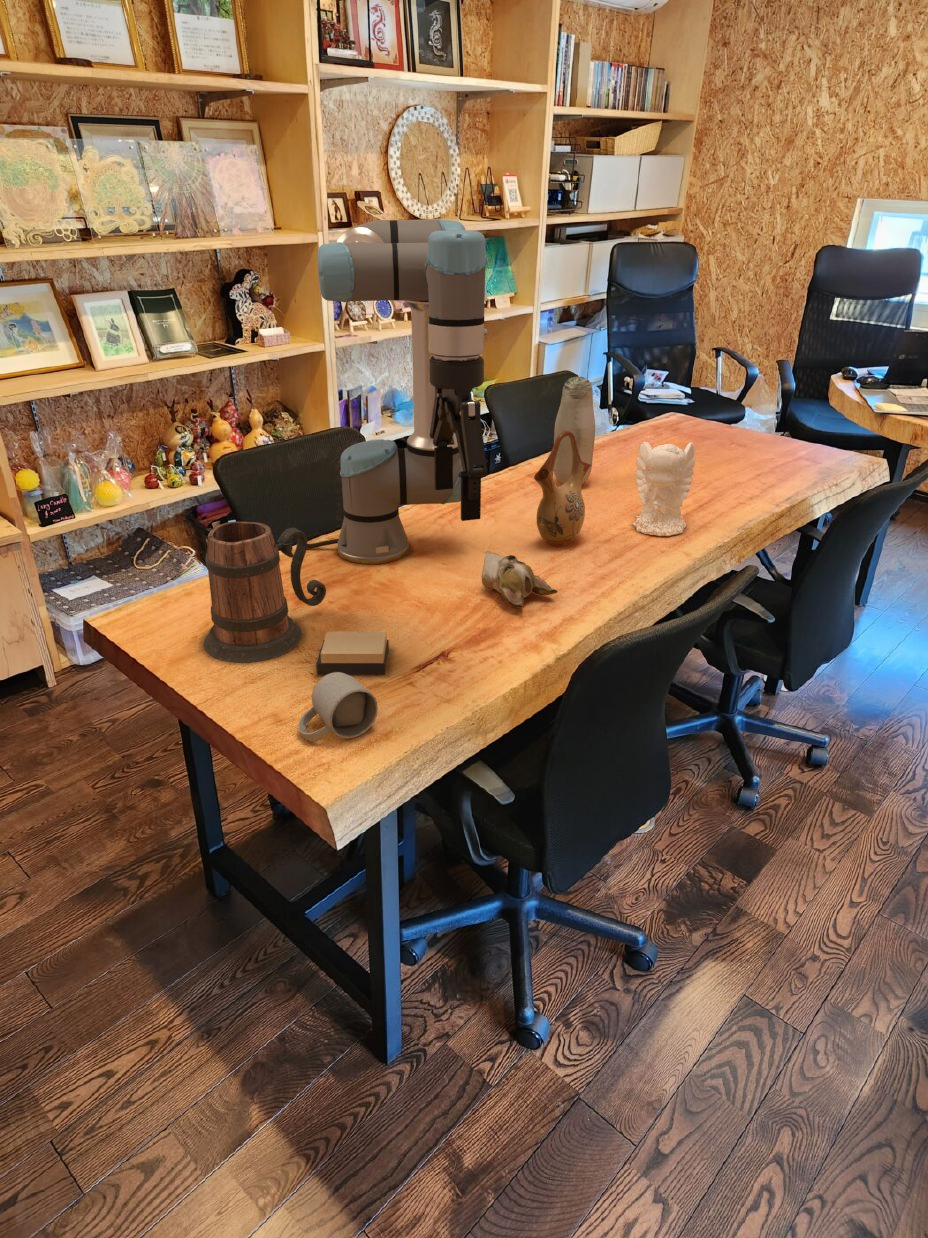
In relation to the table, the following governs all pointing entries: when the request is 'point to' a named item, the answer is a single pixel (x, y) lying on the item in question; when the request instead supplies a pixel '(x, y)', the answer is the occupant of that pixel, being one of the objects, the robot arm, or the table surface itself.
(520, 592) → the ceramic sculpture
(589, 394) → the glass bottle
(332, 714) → the ceramic mug
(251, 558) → the tankard
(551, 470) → the ceramic vessel
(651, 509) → the cherub figurine
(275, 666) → the table surface
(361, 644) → the stone
